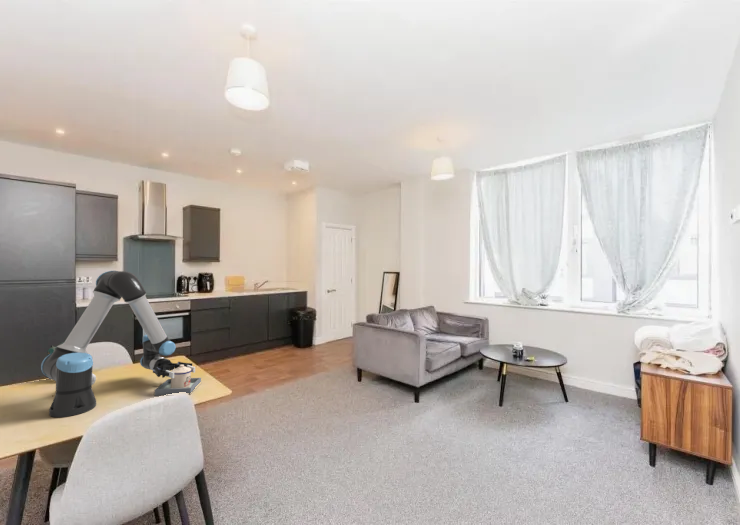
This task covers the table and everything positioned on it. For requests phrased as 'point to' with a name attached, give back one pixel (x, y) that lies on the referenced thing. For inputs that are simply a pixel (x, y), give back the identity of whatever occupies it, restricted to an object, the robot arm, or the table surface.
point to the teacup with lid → (181, 377)
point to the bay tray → (166, 388)
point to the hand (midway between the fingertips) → (184, 372)
